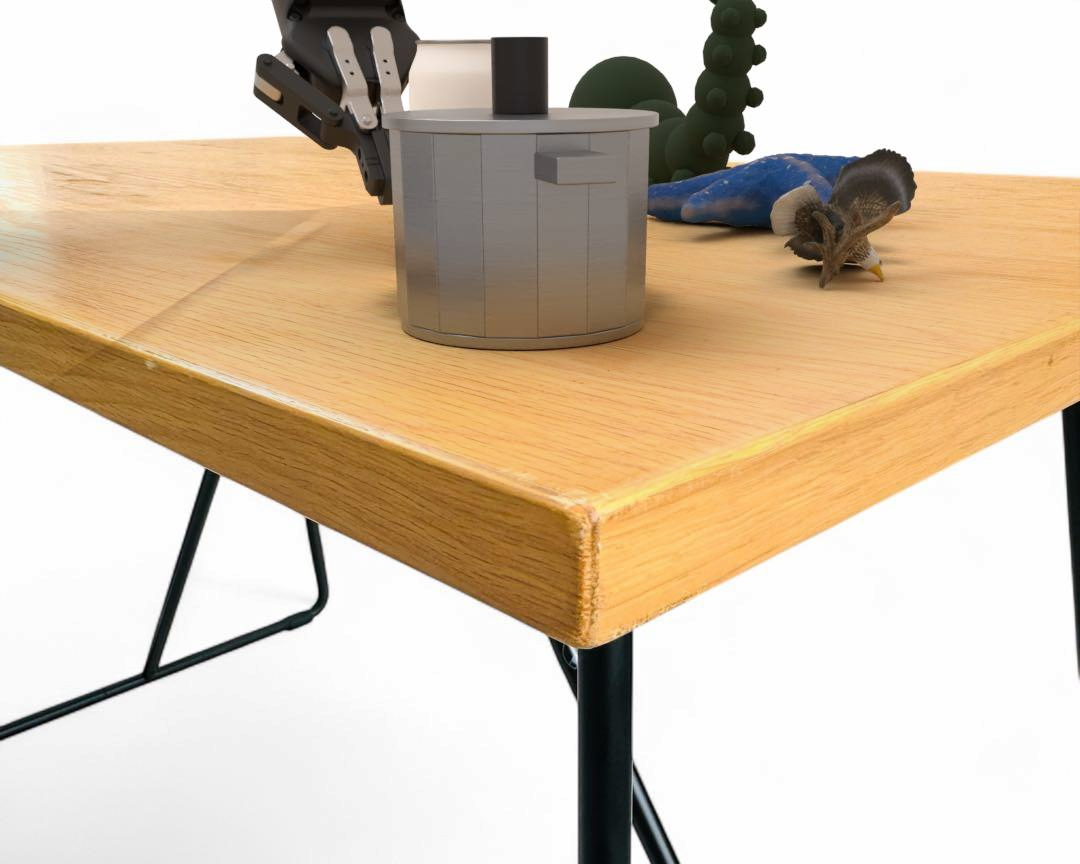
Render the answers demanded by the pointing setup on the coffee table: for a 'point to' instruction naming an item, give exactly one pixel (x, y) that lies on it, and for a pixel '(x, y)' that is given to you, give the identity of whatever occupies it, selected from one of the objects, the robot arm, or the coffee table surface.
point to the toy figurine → (719, 97)
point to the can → (451, 75)
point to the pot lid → (519, 102)
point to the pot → (520, 237)
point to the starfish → (745, 189)
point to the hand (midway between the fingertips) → (396, 195)
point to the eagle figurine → (846, 213)
